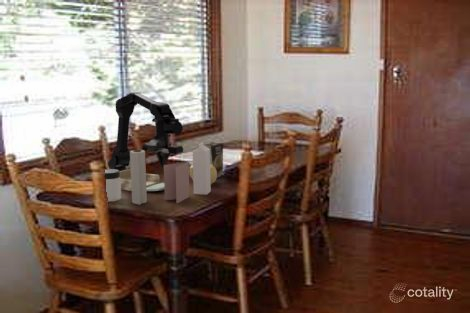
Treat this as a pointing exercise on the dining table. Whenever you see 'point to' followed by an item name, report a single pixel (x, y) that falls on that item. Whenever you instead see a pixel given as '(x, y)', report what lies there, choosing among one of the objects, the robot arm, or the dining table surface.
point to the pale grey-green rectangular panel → (156, 187)
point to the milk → (201, 170)
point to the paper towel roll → (138, 176)
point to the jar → (113, 184)
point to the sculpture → (212, 173)
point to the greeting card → (176, 181)
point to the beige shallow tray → (126, 179)
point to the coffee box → (216, 156)
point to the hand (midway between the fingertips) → (162, 167)
